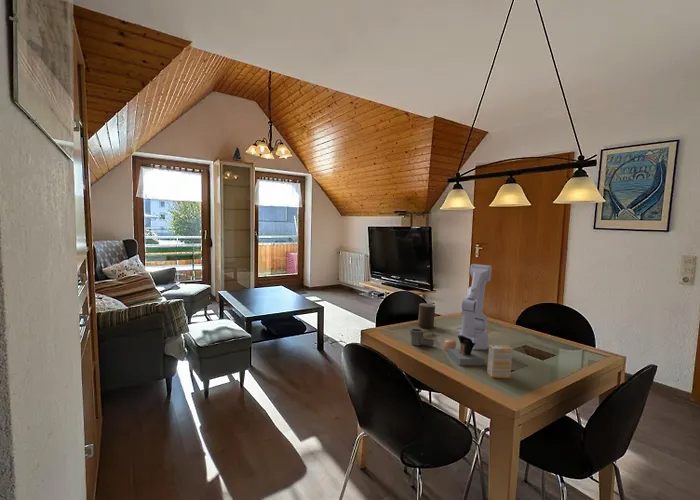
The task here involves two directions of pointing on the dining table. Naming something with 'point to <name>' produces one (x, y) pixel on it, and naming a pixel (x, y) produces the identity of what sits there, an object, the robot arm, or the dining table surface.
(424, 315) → the pillar candle
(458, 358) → the block
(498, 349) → the supplement box
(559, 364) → the dining table surface
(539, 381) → the dining table surface
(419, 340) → the pipe
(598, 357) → the dining table surface
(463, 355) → the square peg
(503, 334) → the dining table surface
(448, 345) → the peach egg-shaped blob
